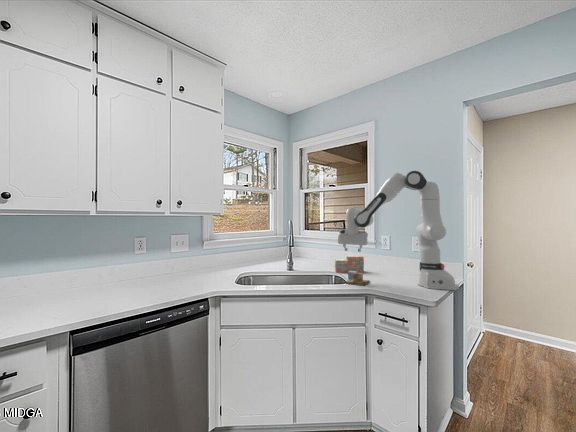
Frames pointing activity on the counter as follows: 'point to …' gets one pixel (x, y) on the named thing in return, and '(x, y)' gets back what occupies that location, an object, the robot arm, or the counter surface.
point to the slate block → (351, 274)
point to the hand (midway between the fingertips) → (352, 251)
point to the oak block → (357, 277)
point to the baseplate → (358, 282)
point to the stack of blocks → (350, 264)
